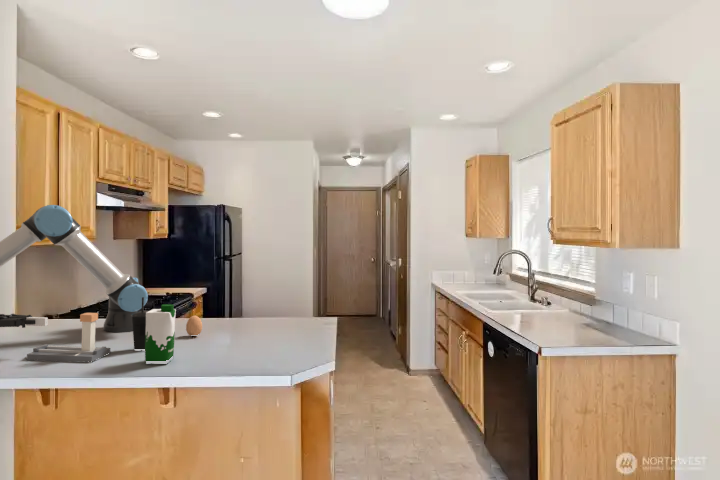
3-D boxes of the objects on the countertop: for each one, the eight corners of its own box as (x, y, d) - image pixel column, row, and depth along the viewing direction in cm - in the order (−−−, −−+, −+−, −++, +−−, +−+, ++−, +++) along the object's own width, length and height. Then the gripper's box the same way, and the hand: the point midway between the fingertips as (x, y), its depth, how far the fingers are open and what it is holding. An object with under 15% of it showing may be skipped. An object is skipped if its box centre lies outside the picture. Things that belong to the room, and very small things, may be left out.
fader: (79, 352, 164) (80, 314, 163) (85, 349, 168) (86, 312, 167) (90, 352, 164) (91, 315, 163) (96, 349, 168) (98, 313, 167)
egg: (204, 335, 205) (205, 314, 205) (197, 338, 198) (198, 317, 198) (190, 334, 206) (190, 313, 206) (182, 337, 199) (183, 316, 199)
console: (26, 360, 160) (27, 350, 160) (50, 350, 172) (50, 342, 172) (91, 362, 160) (91, 353, 160) (110, 353, 172) (110, 344, 172)
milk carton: (168, 365, 160) (170, 307, 159) (141, 365, 159) (142, 306, 159) (176, 358, 168) (178, 303, 168) (150, 358, 168) (152, 302, 167)
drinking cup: (156, 348, 180) (158, 297, 180) (141, 353, 173) (143, 299, 173) (141, 346, 183) (142, 295, 183) (125, 350, 176) (127, 297, 175)
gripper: (-7, 326, 172) (58, 328, 172) (-37, 335, 159) (33, 336, 159) (-7, 306, 171) (58, 307, 172) (-37, 312, 158) (33, 314, 159)
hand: (46, 321), depth 165 cm, fingers closed
